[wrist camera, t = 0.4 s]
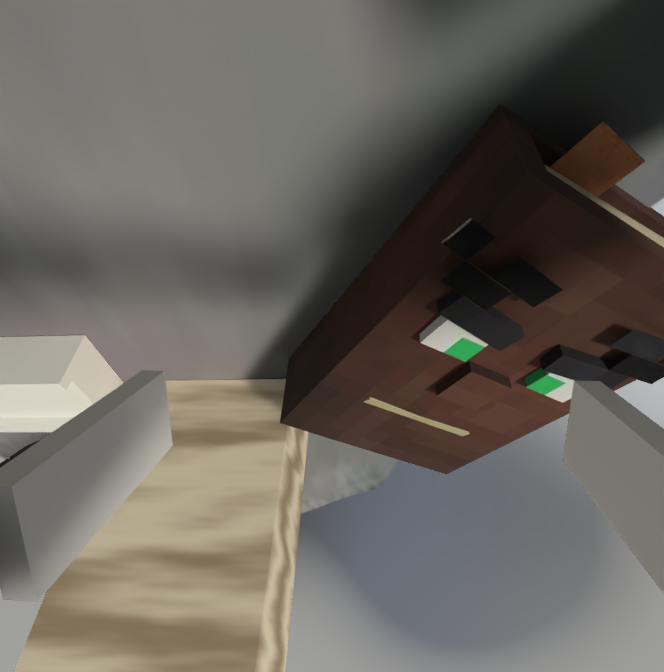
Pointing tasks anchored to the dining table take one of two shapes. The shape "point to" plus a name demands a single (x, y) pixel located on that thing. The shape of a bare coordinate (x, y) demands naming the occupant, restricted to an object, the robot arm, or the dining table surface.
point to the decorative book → (490, 304)
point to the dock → (50, 381)
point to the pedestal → (189, 549)
